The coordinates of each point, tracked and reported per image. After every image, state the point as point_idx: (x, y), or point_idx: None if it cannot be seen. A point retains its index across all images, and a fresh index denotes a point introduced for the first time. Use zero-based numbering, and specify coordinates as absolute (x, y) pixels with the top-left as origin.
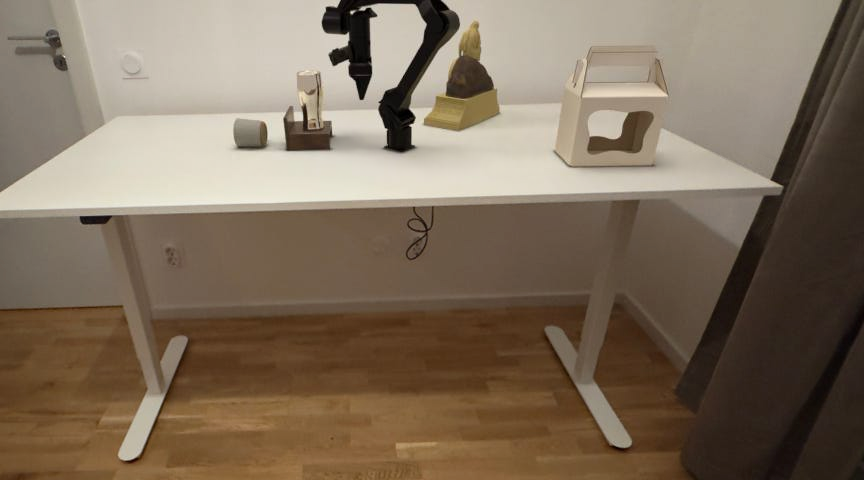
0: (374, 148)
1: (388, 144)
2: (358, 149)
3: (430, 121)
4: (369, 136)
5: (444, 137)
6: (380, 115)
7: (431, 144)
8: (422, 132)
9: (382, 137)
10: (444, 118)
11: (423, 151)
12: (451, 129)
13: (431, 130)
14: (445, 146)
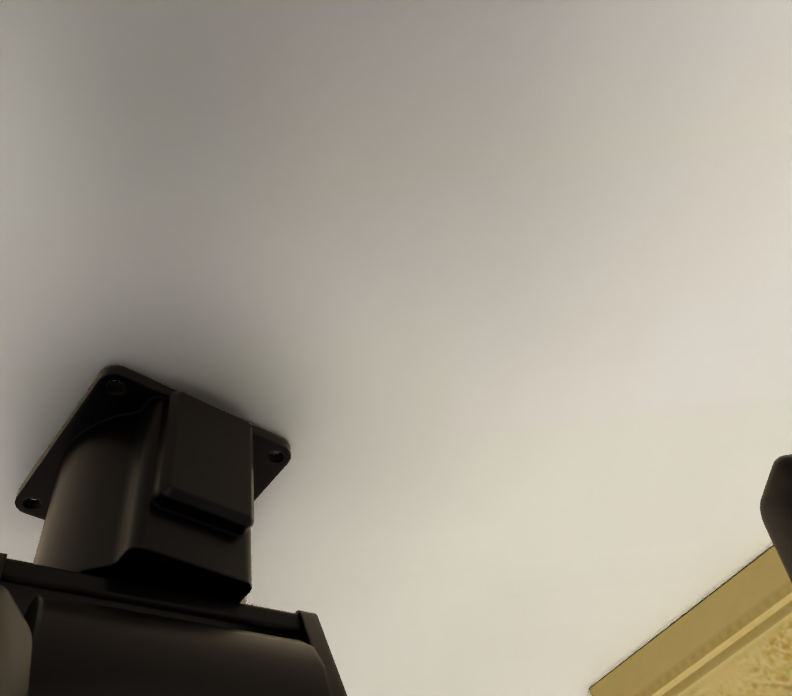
0: (101, 279)
1: (146, 411)
2: (17, 118)
3: (765, 592)
4: (535, 181)
5: (457, 654)
6: (38, 617)
7: None
8: (594, 545)
9: (487, 305)
10: (713, 685)
11: None
12: (623, 664)
13: (634, 582)
14: None
